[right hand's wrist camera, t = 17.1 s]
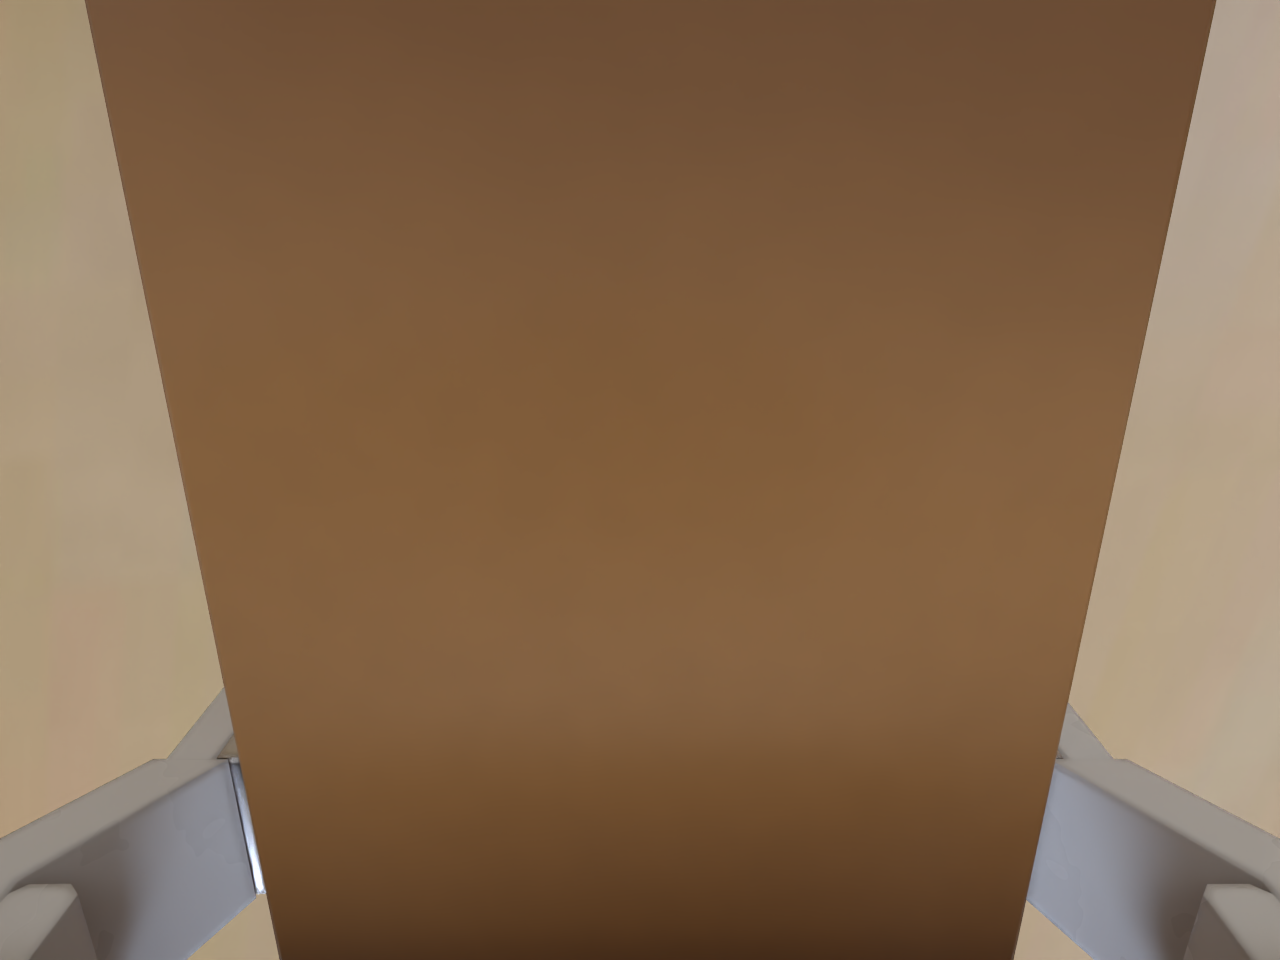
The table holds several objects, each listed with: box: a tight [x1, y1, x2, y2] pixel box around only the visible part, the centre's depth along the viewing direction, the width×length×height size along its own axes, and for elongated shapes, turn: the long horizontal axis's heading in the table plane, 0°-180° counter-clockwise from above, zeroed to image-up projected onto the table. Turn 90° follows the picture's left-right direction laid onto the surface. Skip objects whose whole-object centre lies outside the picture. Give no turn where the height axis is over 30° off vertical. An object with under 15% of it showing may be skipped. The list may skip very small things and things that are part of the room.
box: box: [85, 0, 1216, 960], centre depth 10 cm, size 21×6×12 cm, turn 0°
